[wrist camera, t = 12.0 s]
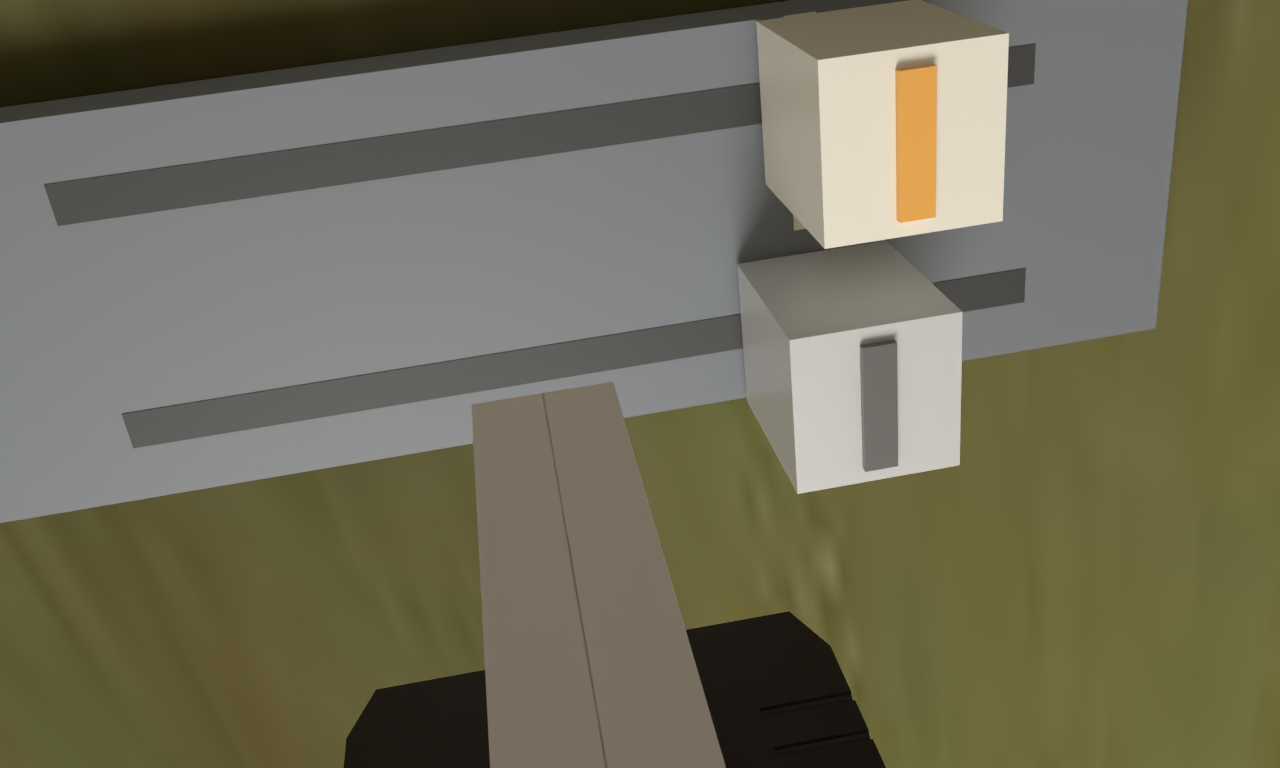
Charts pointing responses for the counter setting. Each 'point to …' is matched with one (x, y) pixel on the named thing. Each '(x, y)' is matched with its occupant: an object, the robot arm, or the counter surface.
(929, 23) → the fader
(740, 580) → the counter surface
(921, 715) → the counter surface
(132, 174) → the console
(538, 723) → the robot arm
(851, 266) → the fader
